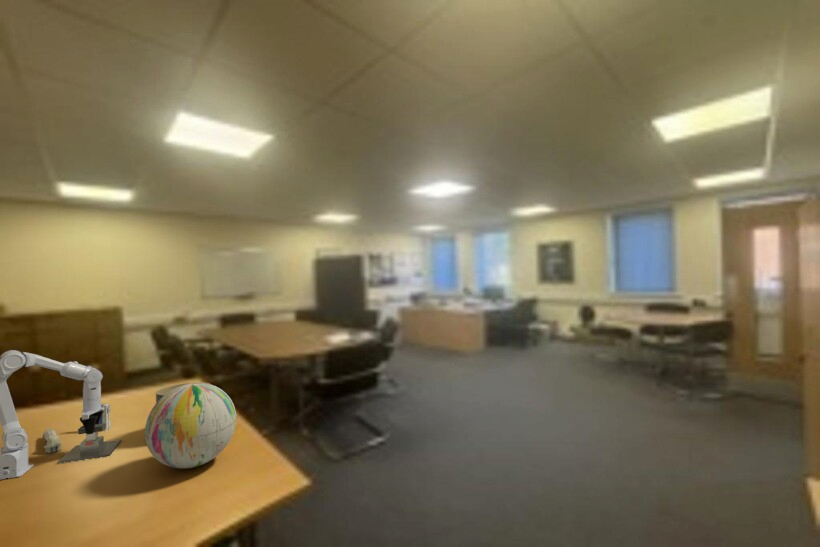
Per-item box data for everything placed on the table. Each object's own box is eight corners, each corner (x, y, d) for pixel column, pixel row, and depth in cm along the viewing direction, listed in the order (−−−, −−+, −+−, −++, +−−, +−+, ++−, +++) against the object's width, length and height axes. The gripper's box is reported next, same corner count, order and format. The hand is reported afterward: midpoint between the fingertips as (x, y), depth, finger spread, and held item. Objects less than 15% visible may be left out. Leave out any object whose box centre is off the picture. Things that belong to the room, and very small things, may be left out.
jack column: (102, 445, 161) (102, 426, 161) (77, 448, 158) (77, 429, 158) (105, 441, 164) (105, 423, 164) (81, 445, 161) (81, 426, 161)
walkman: (88, 432, 184) (88, 406, 184) (92, 429, 186) (92, 404, 187) (107, 430, 185) (106, 404, 185) (110, 428, 187) (110, 403, 188)
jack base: (109, 456, 156) (109, 443, 157) (58, 464, 150) (58, 450, 151) (121, 441, 171) (121, 429, 171) (75, 447, 165) (75, 435, 165)
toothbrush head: (56, 427, 180) (62, 433, 163) (56, 442, 179) (62, 450, 162) (40, 430, 176) (44, 437, 159) (40, 445, 176) (45, 454, 158)
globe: (253, 457, 153) (252, 379, 154) (174, 493, 127) (173, 399, 128) (207, 442, 168) (206, 371, 169) (128, 472, 143) (127, 388, 143)
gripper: (97, 401, 156) (97, 436, 156) (109, 392, 170) (109, 424, 169) (75, 404, 153) (75, 439, 153) (89, 394, 167) (89, 427, 167)
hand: (91, 431), depth 161 cm, fingers closed on jack column, 4 cm apart
